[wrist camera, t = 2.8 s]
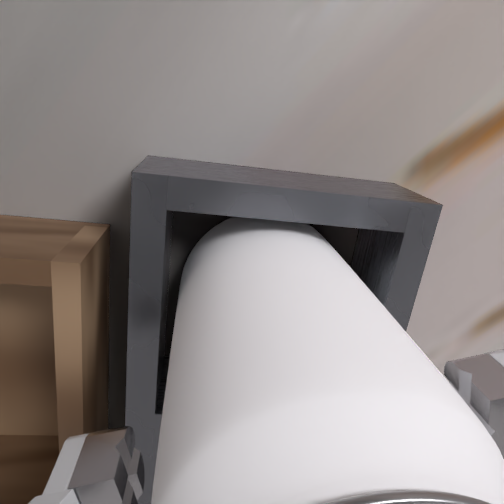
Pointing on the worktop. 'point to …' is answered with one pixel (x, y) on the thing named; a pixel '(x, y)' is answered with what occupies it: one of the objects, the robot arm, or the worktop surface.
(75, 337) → the box
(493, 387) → the robot arm
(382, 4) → the worktop surface
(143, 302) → the tray
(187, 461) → the can
